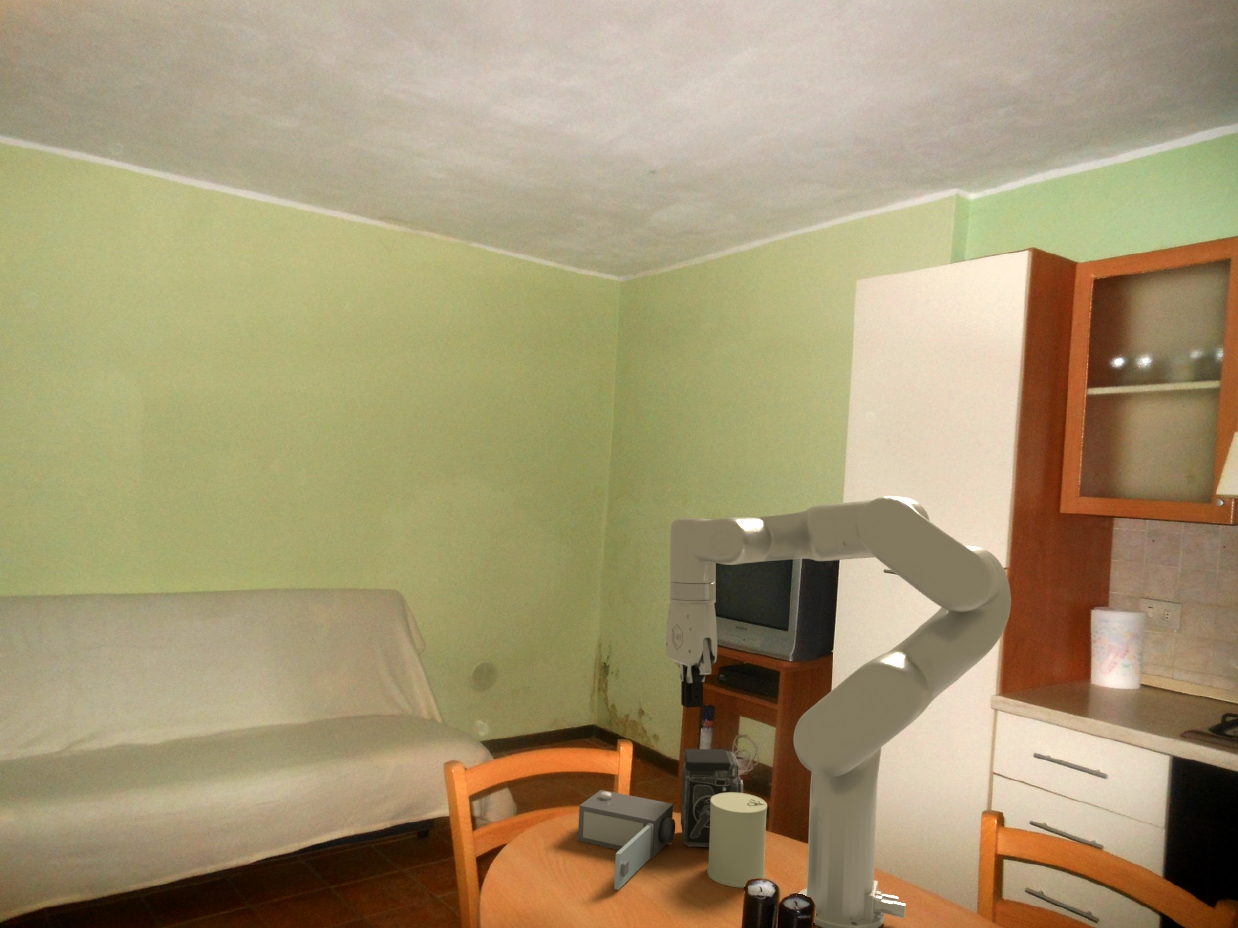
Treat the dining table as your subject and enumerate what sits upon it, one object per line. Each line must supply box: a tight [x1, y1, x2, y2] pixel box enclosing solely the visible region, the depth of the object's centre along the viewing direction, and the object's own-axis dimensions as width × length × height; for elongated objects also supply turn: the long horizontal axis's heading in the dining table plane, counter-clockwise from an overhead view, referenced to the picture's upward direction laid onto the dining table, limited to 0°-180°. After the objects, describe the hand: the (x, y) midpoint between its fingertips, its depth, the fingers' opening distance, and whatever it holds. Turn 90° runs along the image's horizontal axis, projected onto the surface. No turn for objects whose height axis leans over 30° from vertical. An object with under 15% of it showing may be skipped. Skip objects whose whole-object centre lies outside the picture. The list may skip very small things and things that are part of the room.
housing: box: [577, 789, 676, 858], centre depth 148 cm, size 16×9×7 cm, turn 67°
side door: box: [613, 823, 654, 891], centre depth 135 cm, size 14×2×5 cm, turn 156°
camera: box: [680, 748, 744, 848], centre depth 149 cm, size 10×11×15 cm
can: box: [706, 792, 768, 889], centre depth 136 cm, size 9×9×12 cm
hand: (692, 705), depth 139 cm, fingers closed
